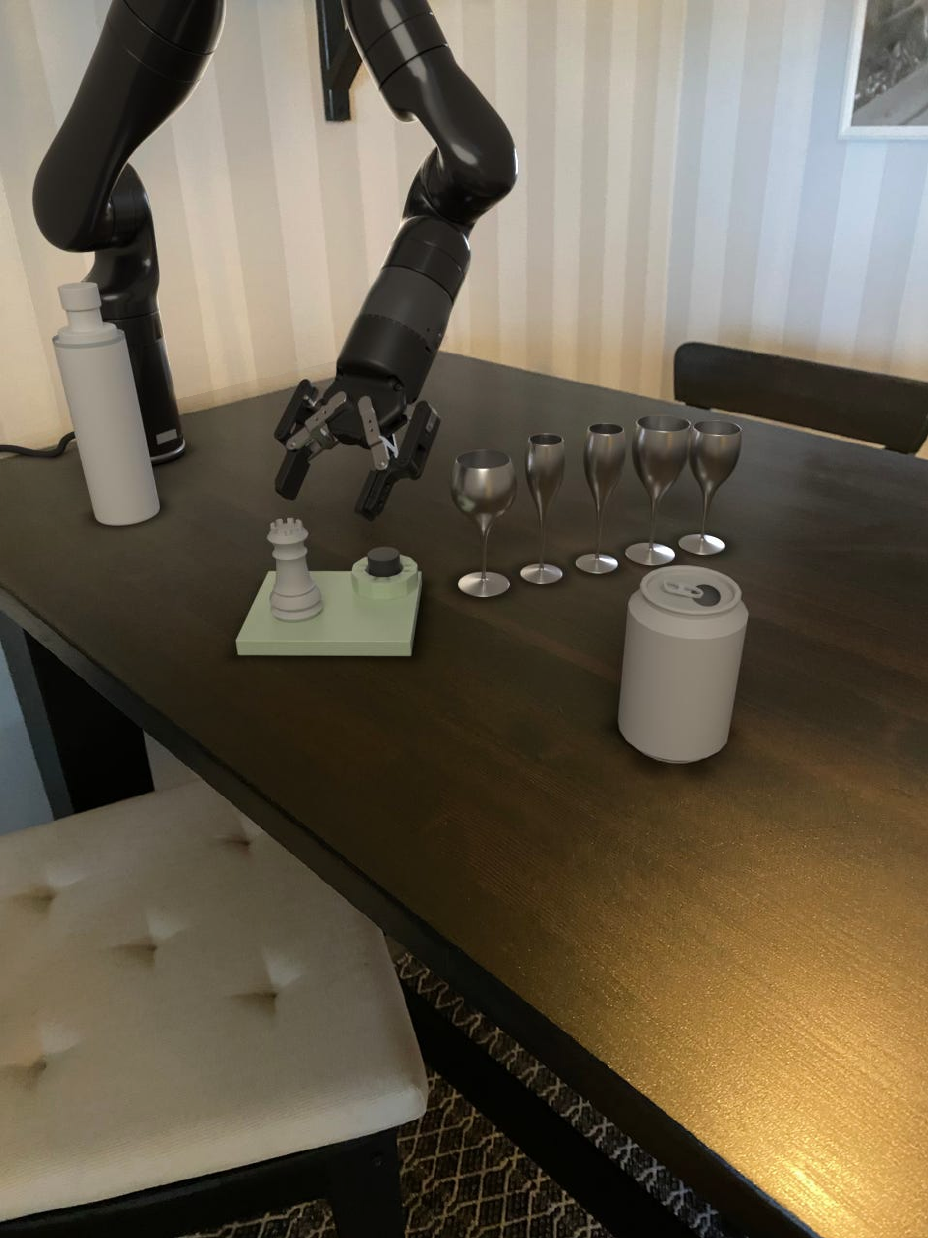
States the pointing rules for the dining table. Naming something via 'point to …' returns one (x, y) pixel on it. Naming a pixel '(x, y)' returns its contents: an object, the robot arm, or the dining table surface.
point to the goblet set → (596, 486)
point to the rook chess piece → (292, 575)
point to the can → (681, 663)
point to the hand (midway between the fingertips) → (322, 506)
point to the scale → (341, 616)
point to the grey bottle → (104, 410)
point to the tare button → (384, 562)
